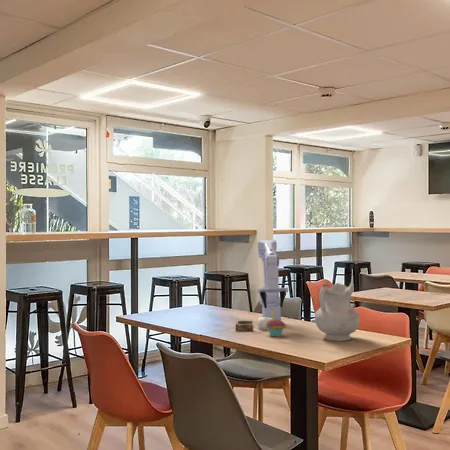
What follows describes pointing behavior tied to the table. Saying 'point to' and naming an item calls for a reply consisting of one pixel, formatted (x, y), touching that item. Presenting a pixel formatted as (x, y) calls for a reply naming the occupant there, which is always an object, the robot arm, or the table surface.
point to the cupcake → (275, 326)
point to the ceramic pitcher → (337, 312)
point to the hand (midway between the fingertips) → (273, 307)
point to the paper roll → (263, 323)
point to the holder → (244, 326)
